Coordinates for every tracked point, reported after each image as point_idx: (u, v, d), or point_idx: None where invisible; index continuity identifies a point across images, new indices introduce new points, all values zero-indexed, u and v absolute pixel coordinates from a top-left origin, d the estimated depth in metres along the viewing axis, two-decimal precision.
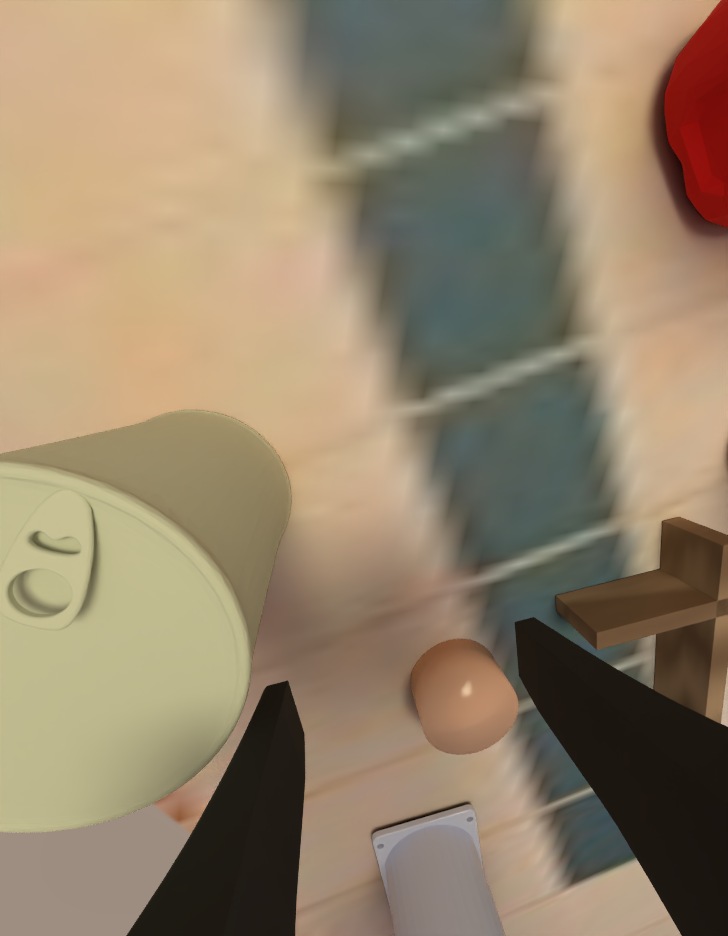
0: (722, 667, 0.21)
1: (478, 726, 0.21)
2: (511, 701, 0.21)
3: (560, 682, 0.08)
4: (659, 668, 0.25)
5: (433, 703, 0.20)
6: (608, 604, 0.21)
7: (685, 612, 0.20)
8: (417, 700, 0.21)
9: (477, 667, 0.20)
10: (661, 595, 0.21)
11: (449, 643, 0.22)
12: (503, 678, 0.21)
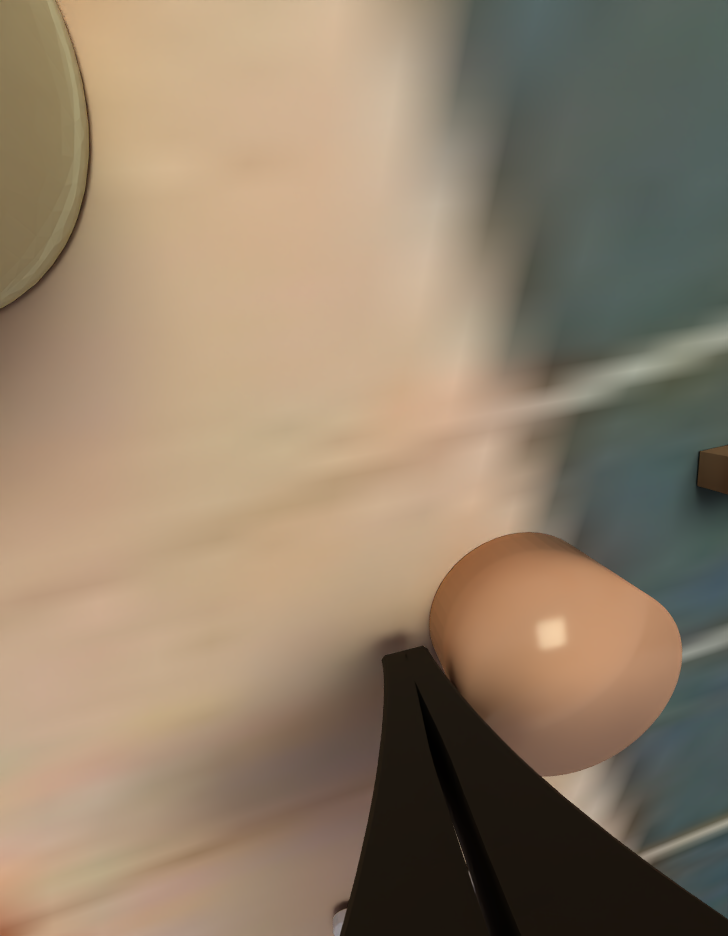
0: None
1: (590, 713, 0.09)
2: (668, 655, 0.09)
3: (426, 720, 0.08)
4: None
5: (494, 658, 0.08)
6: None
7: None
8: (450, 657, 0.10)
9: (593, 574, 0.09)
10: None
11: (514, 540, 0.11)
12: None
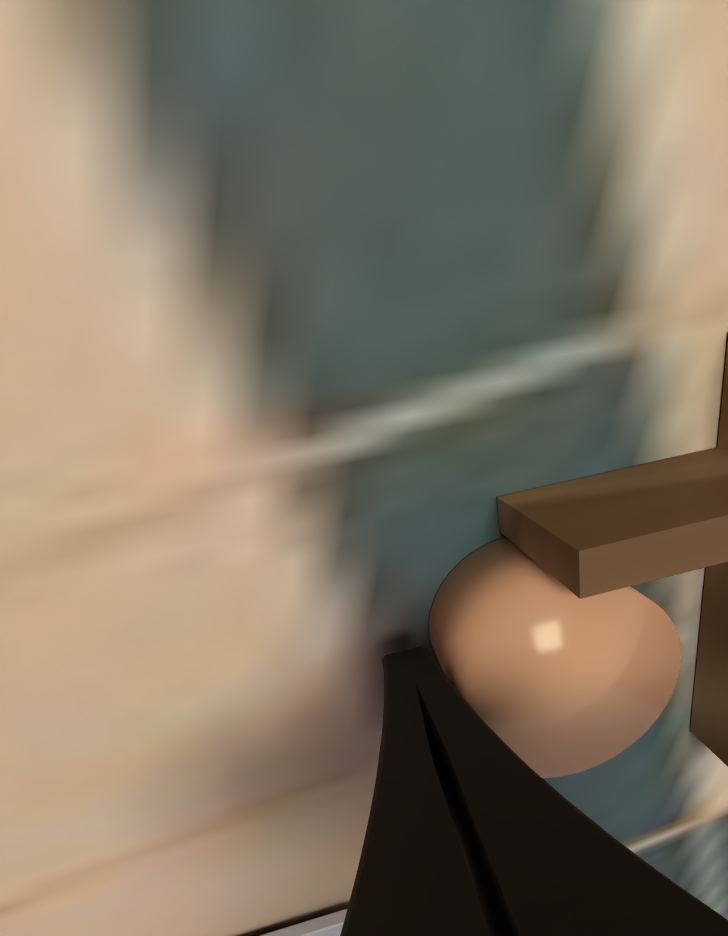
0: None
1: (589, 715, 0.09)
2: (667, 658, 0.09)
3: (426, 719, 0.08)
4: (706, 655, 0.13)
5: (494, 659, 0.08)
6: (611, 501, 0.09)
7: None
8: (449, 658, 0.10)
9: None
10: None
11: None
12: (653, 603, 0.09)
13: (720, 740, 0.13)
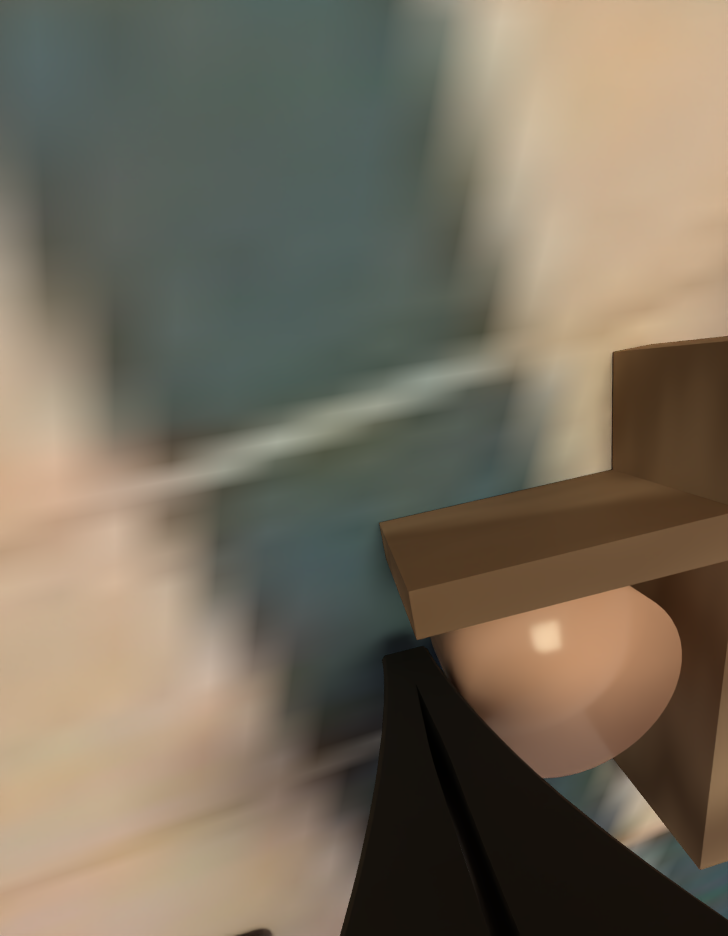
0: None
1: (590, 715, 0.09)
2: (668, 658, 0.09)
3: (426, 720, 0.08)
4: None
5: (495, 660, 0.08)
6: (476, 531, 0.09)
7: (657, 540, 0.07)
8: (450, 658, 0.10)
9: None
10: (603, 508, 0.09)
11: None
12: None
13: (633, 765, 0.13)
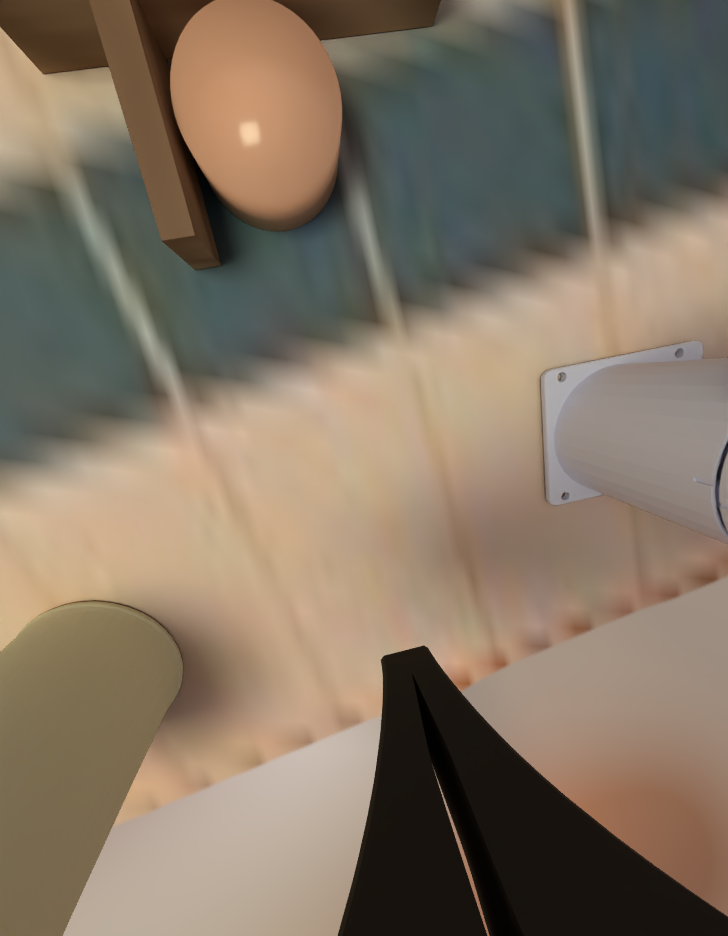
0: None
1: (283, 87, 0.12)
2: (231, 11, 0.12)
3: (427, 719, 0.08)
4: (335, 30, 0.14)
5: (229, 178, 0.13)
6: None
7: (110, 45, 0.11)
8: (263, 213, 0.14)
9: None
10: None
11: None
12: (187, 32, 0.12)
13: (418, 1, 0.14)
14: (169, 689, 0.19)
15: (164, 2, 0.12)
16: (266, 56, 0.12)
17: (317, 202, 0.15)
